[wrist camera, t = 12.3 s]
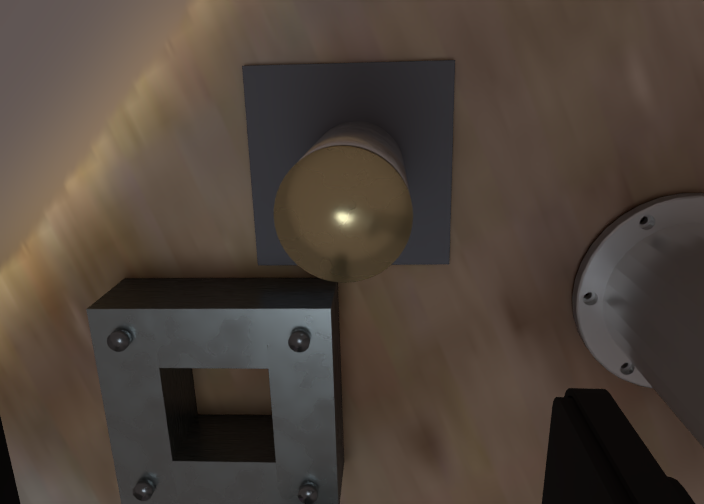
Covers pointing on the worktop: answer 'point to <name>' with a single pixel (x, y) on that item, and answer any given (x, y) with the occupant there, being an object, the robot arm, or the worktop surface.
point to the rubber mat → (345, 106)
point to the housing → (221, 352)
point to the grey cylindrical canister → (346, 205)
